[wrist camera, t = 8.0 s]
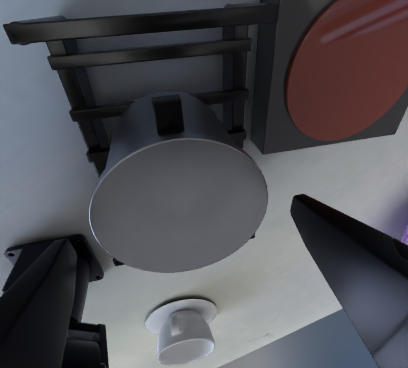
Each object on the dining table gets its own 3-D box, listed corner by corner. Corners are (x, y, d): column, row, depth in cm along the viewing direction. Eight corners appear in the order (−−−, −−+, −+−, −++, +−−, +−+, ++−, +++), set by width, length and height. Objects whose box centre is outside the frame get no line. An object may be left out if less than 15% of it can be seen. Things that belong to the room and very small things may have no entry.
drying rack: (231, 190, 22) (254, 238, 18) (121, 210, 21) (115, 267, 16) (235, 3, 14) (280, 2, 9) (51, 16, 13) (0, 22, 8)
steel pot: (226, 193, 18) (259, 266, 13) (128, 210, 17) (123, 296, 12) (226, 59, 13) (283, 96, 8) (83, 74, 12) (39, 127, 7)
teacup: (221, 319, 37) (230, 353, 34) (159, 339, 37) (161, 376, 33) (208, 287, 31) (217, 324, 27) (133, 310, 31) (132, 352, 27)
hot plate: (386, 130, 19) (389, 131, 18) (276, 147, 17) (278, 149, 17) (453, -24, 13) (459, -25, 13) (299, -15, 12) (302, -15, 12)
